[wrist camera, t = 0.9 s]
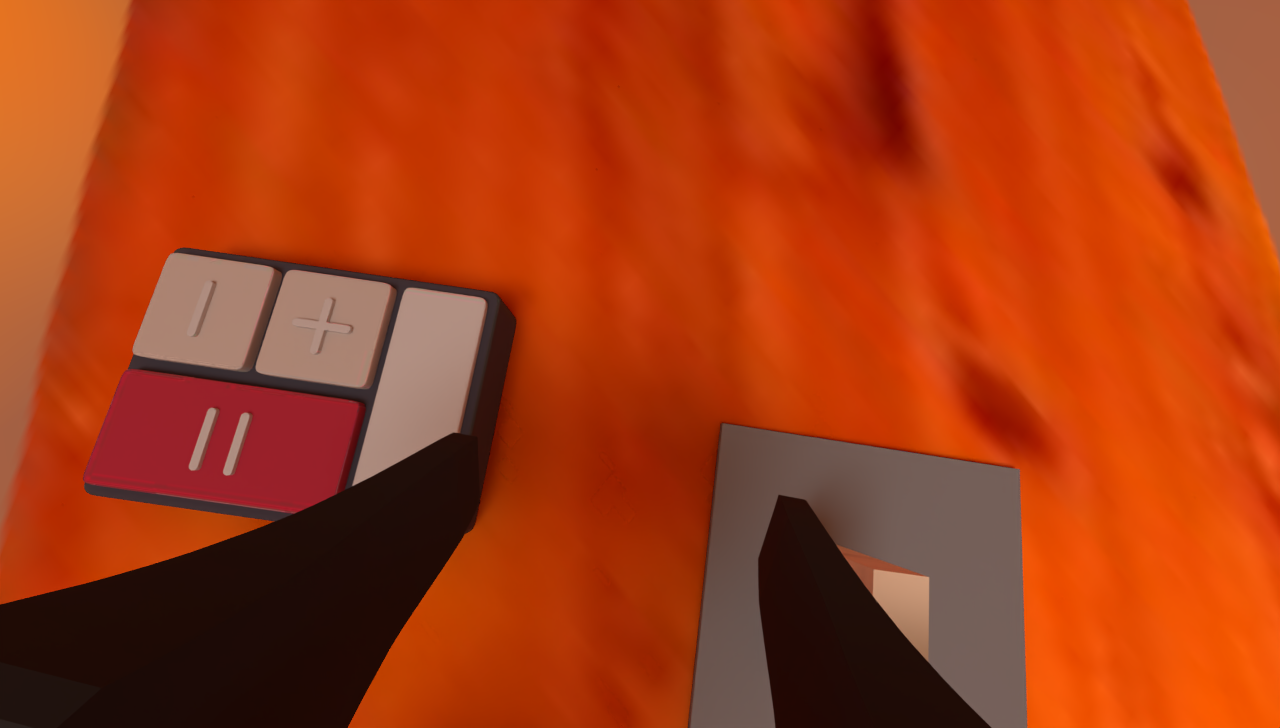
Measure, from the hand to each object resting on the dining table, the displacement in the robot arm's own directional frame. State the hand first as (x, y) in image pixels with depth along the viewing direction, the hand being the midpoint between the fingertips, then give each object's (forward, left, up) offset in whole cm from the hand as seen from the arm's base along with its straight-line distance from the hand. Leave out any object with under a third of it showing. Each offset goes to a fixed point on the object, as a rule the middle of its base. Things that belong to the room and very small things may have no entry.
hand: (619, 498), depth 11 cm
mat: (-5, -13, -12) cm, 19 cm away
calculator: (+2, +14, -13) cm, 19 cm away
